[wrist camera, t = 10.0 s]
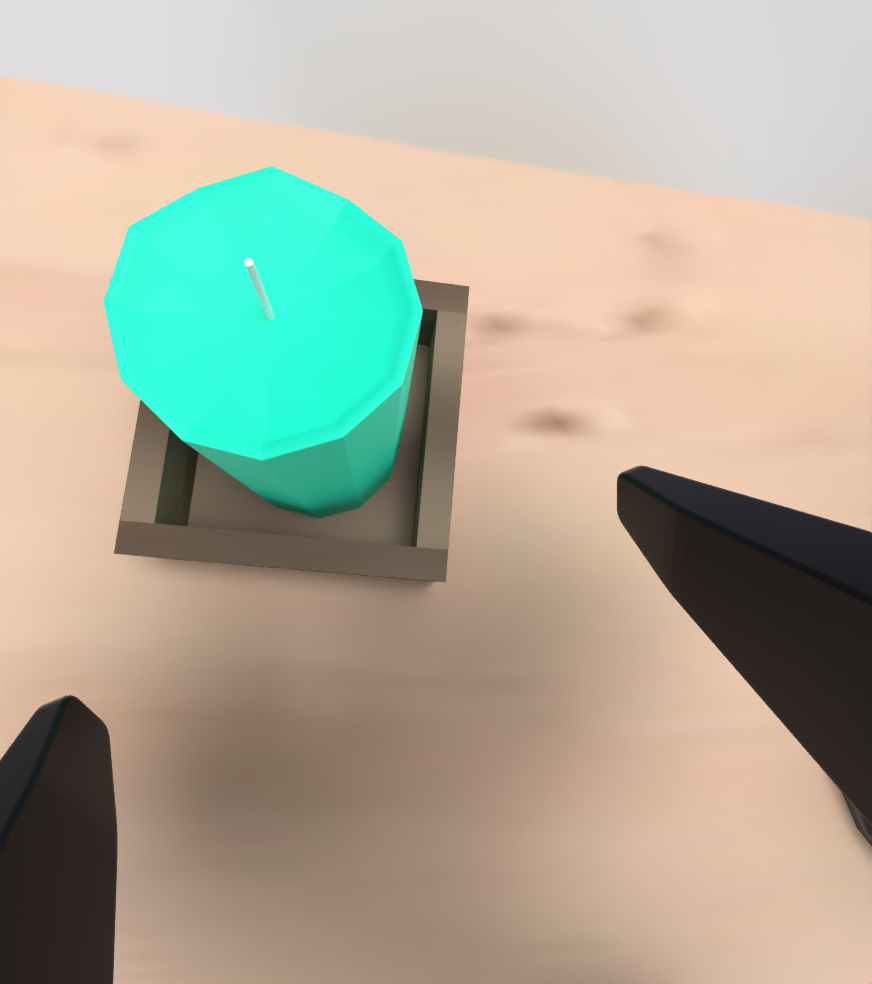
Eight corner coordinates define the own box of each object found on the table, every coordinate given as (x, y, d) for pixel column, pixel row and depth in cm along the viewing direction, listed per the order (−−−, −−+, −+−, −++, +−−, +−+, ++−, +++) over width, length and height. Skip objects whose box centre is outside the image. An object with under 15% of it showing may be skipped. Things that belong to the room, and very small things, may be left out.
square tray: (433, 581, 22) (445, 581, 18) (161, 557, 21) (113, 553, 17) (454, 333, 23) (469, 286, 20) (202, 302, 22) (167, 246, 19)
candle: (430, 468, 21) (494, 334, 10) (286, 549, 20) (164, 508, 9) (351, 335, 22) (321, 51, 10) (207, 407, 21) (-11, 187, 9)
